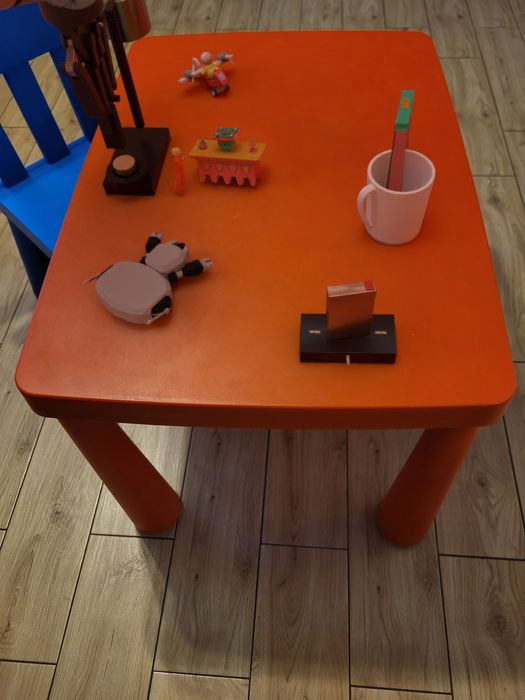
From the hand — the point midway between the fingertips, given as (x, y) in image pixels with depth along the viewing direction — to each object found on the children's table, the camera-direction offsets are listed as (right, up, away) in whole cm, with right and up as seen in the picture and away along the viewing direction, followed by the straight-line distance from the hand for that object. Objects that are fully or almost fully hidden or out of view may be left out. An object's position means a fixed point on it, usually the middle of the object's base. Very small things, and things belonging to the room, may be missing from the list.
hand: (116, 145), depth 91 cm
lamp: (+2, +10, +12) cm, 16 cm away
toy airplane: (+12, +18, +21) cm, 30 cm away
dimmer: (+33, -30, -11) cm, 46 cm away
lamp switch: (+1, -3, +4) cm, 5 cm away
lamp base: (+1, 0, +10) cm, 10 cm away
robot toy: (+6, -22, -4) cm, 23 cm away
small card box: (+33, -28, -14) cm, 45 cm away
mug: (+40, -13, -1) cm, 42 cm away
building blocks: (+26, -5, +4) cm, 27 cm away
